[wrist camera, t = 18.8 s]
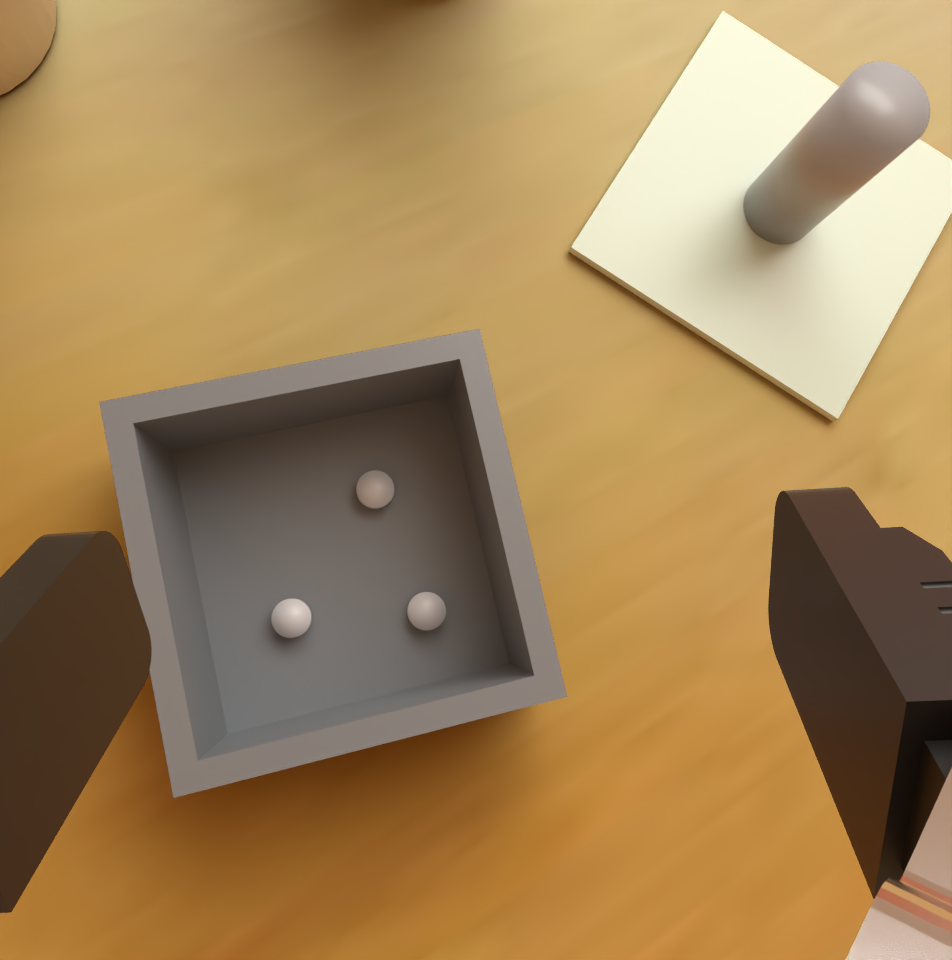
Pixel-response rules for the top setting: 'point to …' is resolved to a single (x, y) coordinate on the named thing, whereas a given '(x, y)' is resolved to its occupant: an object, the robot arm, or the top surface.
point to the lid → (777, 210)
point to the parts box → (328, 558)
